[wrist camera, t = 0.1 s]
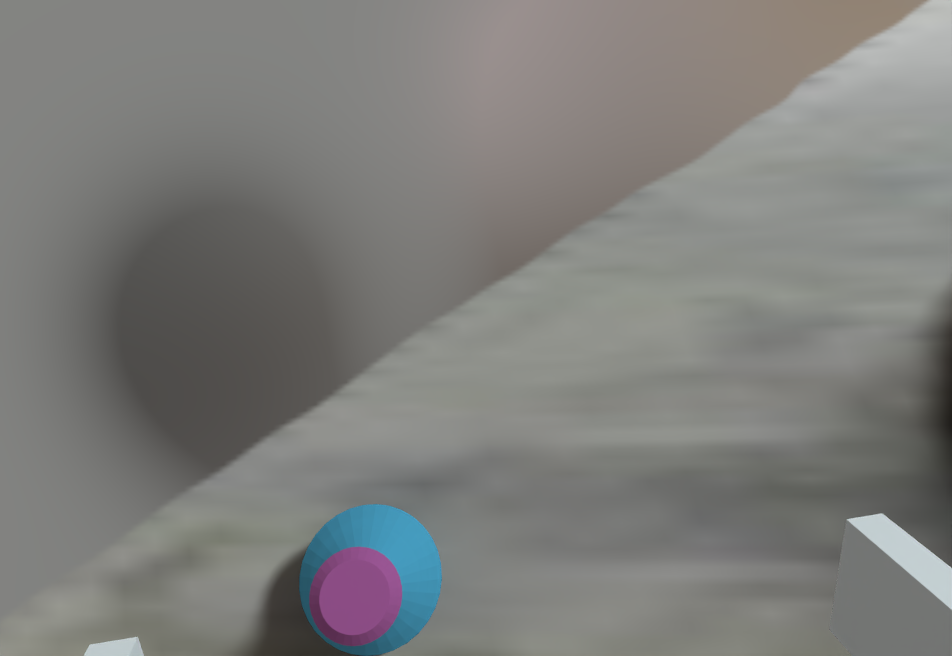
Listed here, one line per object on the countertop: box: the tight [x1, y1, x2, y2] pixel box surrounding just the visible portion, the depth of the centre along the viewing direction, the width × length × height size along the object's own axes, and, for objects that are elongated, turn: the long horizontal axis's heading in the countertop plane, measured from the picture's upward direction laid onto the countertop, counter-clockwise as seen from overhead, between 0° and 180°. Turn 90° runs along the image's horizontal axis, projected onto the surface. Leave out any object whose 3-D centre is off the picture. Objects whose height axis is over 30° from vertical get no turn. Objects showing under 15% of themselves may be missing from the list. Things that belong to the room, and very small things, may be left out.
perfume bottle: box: [299, 504, 442, 656], centre depth 38 cm, size 9×9×15 cm
